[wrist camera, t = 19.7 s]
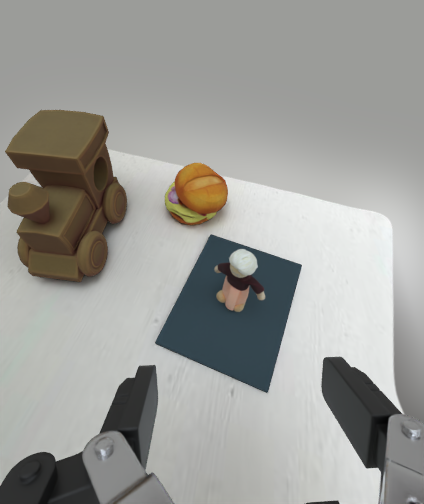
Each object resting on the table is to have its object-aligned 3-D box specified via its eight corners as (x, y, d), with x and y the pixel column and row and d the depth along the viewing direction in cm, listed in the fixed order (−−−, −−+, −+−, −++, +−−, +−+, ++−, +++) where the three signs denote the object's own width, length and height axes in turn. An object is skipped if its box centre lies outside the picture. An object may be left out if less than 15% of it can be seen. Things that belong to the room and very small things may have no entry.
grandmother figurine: (205, 301, 41) (205, 256, 30) (216, 280, 43) (219, 231, 32) (254, 323, 39) (271, 283, 29) (263, 300, 41) (282, 255, 30)
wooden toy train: (79, 190, 54) (33, 106, 40) (135, 196, 53) (109, 113, 39) (28, 281, 43) (-58, 209, 29) (98, 290, 42) (44, 221, 28)
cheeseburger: (180, 180, 55) (188, 141, 47) (226, 206, 55) (243, 171, 47) (153, 214, 50) (157, 177, 42) (204, 243, 50) (218, 211, 42)
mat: (155, 343, 38) (155, 342, 38) (210, 236, 48) (210, 234, 48) (267, 392, 35) (267, 392, 34) (300, 266, 45) (301, 264, 45)
